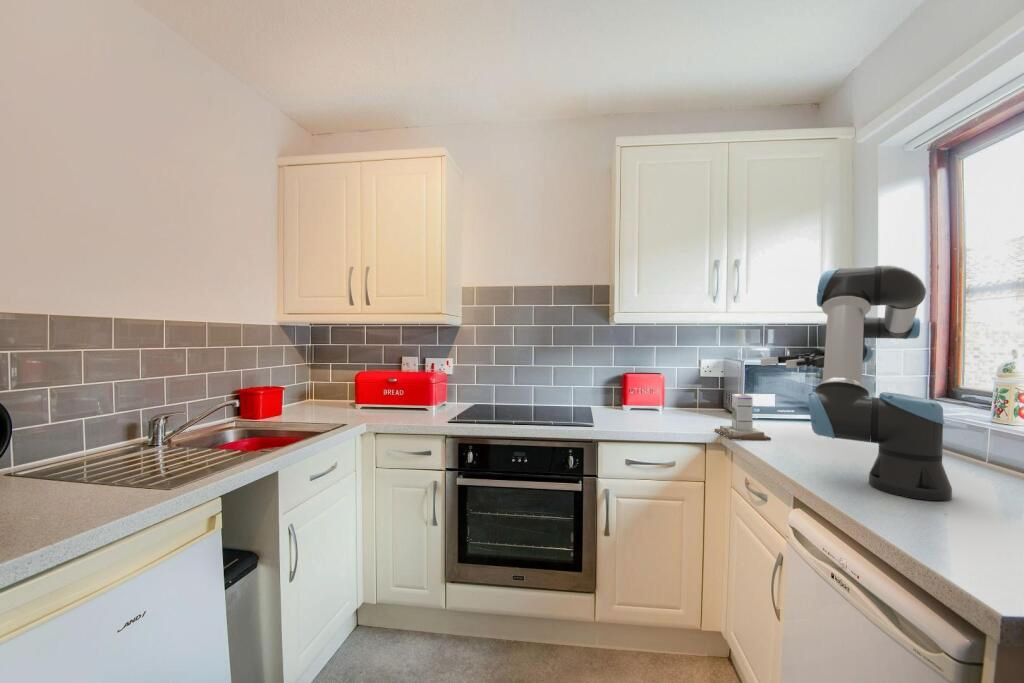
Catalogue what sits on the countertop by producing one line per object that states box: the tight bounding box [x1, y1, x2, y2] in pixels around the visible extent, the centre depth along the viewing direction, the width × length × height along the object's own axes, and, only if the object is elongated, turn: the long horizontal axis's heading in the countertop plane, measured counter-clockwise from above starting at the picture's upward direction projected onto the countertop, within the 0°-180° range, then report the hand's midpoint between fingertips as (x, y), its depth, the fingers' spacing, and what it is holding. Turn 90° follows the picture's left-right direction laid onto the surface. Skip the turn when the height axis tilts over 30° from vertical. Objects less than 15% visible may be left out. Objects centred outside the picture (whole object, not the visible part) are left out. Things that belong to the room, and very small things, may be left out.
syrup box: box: [731, 393, 754, 431], centre depth 163 cm, size 6×6×14 cm
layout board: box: [714, 425, 772, 441], centre depth 164 cm, size 14×14×2 cm
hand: (773, 363), depth 160 cm, fingers open, 13 cm apart
